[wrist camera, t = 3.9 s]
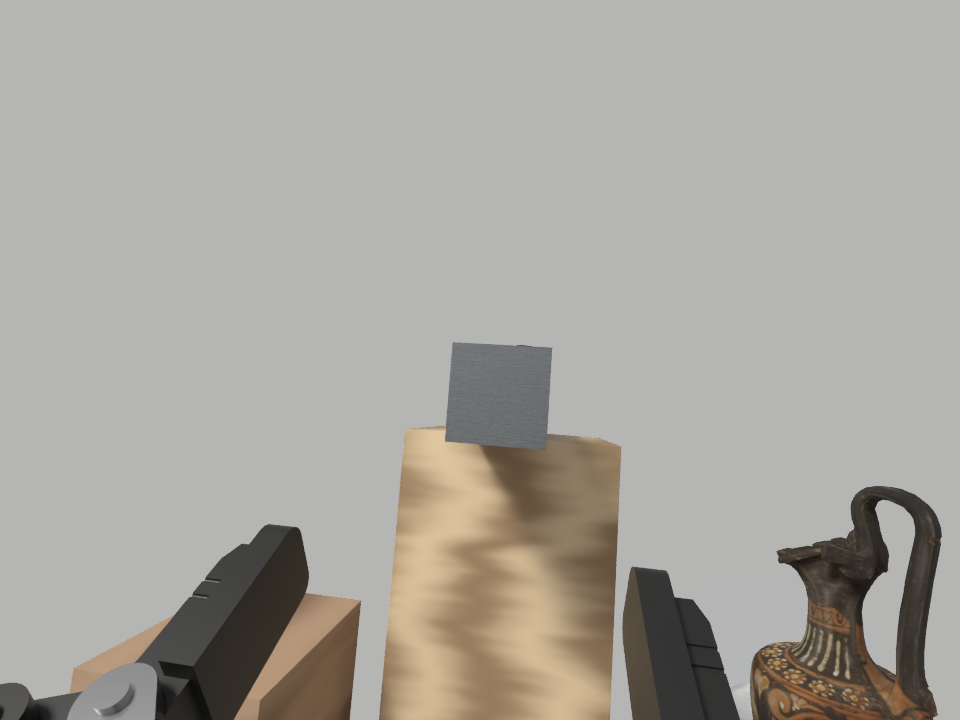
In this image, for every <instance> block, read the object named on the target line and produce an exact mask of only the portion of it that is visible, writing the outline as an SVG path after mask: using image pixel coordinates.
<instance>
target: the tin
mask: <svg viewBox="0 0 960 720" xmlns="http://www.w3.org/2000/svg"><path fill="white" fill-rule="evenodd" d="M551 357H552V348H547V347H532V346H523V345H518V346H509V345H492V344H472V343H455V342H454V343H453V346H452V358H451V372H450V383H449V397H448V408H447V422H446V433H445V442H455V443H467V444H479V445H490V446H502V447H514V448H526V449H538V450H546V442H547V425H548V408H549V390H550V374H551Z"/></svg>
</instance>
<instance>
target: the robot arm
mask: <svg viewBox="0 0 960 720" xmlns="http://www.w3.org/2000/svg"><path fill="white" fill-rule="evenodd" d="M308 580H309V571H308V566H307V561H306V556H305V551H304V546H303V541H302V536H301V532H300V530H299V529H298V528H297V527H289V526H280V525H271V524H268V525H266V526H264V527H263V528H262V529H261V530H260V531H259V533H258V534H257V535H256V537H255V538H254V539H253V540H252V542H251V543H250V544H249V545H247V544H241V545H240V546H238V547H237V548H235V549H234V550H233V551H231V552H230V553H229V554H227V555H226V556H224V557H223V558H222V559H221V560H220V561H219V562H218V563H217V564H216V566H215V567H214V568H213V569H212V570H211V572H210V573H209V574H208V575H207V576H206V579H205V581H203V582H201V584H200V585H199V586H198V587H197V588H196V590H195V591H194V592H193V595H192V597H189V598H188V600H187V601H186V602H185V603H184V604H183V605H182V607H181V608H180V609H179V611H178V612H177V613H176V614H175V615H174V616H173V618H172V619H171V620H170V621H169V622H168V624H167V625H166V626H165V627H164V628H163V630H162V631H161V632H160V633H159V634H158V636H157V637H156V638H155V639H154V641H153V642H152V643H151V644H150V645H149V647H148V648H147V649H146V650H145V651H144V653H143V654H142V655H141V656H140V657H139V658H138V659H137V661H136V662H134V663H130V664H125V665H122V666H119V667H117V668H115V669H113V670H110V671H109V672H107V673H105V674H103V675H102V676H100V677H99V678H98V679H96V680H95V681H94V682H92V683H91V684H90V685H89V686H88V687H87V688H86V689H85V690H84V691H82V692H77V693H71V694H66V695H60V696H55V697H49V698H44V699H38V700H33V698H32V696H31V694H30V693H29V691H28V689H27V688H26V687H25V686H23V685H22V684H18V683H7V684H1V685H0V720H234V718H235V717H236V715H237V713H238V711H239V710H240V708H241V706H242V704H243V703H244V701H245V699H246V697H247V696H248V694H249V692H250V690H251V689H252V687H253V685H254V683H255V682H256V680H257V678H258V676H259V675H260V673H261V671H262V669H263V668H264V666H265V664H266V662H267V661H268V659H269V657H270V656H271V654H272V652H273V650H274V649H275V647H276V645H277V643H278V642H279V640H280V638H281V636H282V635H283V633H284V631H285V629H286V628H287V626H288V624H289V622H290V621H291V619H292V617H293V615H294V614H295V612H296V610H297V608H298V607H299V605H300V603H301V601H302V599H303V598H304V595H305V592H306V589H307V586H308ZM623 645H624V653H625V661H626V669H627V677H628V685H629V692H630V701H631V709H632V717H633V720H740V718H739V715H738V712H737V709H736V706H735V702H734V699H733V696H732V693H731V690H730V686H729V683H728V680H727V677H726V674H724V667H723V664H722V661H721V657H720V654H719V653H718V651H717V645H716V641H715V638H714V635H713V632H712V629H711V625H710V622H709V621H708V620H707V618H706V617H705V616H704V614H703V613H702V612H701V610H700V609H699V608H698V606H697V605H696V603H695V602H694V601H693V600H691V599H682V598H675V597H674V594H673V590H672V586H671V583H670V579H669V575H668V573H667V571H664V570H656V569H647V568H639V567H632V568H631V571H630V575H629V582H628V588H627V594H626V601H625V606H624V612H623Z"/></svg>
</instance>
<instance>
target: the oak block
mask: <svg viewBox="0 0 960 720" xmlns="http://www.w3.org/2000/svg"><path fill="white" fill-rule="evenodd" d="M445 433H446V426H437V427H426V428H412V429H405V438H404V448H403V460H402V471H401V482H400V494H399V504H398V515H397V526H396V537H395V548H394V560H393V571H392V583H391V593H390V604H389V615H388V626H387V637H386V649H385V661H384V671H383V682H382V693H381V705H380V716H379V720H610V700H611V699H610V698H611V676H612V652H613V627H614V605H615V580H616V555H617V533H618V510H619V509H618V508H619V486H620V462H621V446H618V445H616V444H613V443H610V442H608V441H605V440H603V439H600V438H590V437H578V436H566V435H554V434H547V442H546V450H538V449H526V448H514V447H502V446H490V445H479V444H467V443H455V442H445Z"/></svg>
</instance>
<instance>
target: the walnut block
mask: <svg viewBox="0 0 960 720" xmlns="http://www.w3.org/2000/svg"><path fill="white" fill-rule="evenodd" d="M360 605H361V601H359V600H352V599H345V598H337V597H329V596H322V595H314V594H307V593H305V595H304V598H303V599H302V601H301V603H300V605H299V607H298V608H297V610H296V612H295V614H294V615H293V617H292V619H291V621H290V622H289V624H288V626H287V628H286V629H285V631H284V633H283V635H282V636H281V638H280V640H279V642H278V643H277V645H276V647H275V649H274V650H273V652H272V654H271V656H270V657H269V659H268V661H267V662H266V664H265V666H264V668H263V669H262V671H261V673H260V675H259V676H258V678H257V680H256V682H255V683H254V685H253V687H252V689H251V690H250V692H249V694H248V696H247V697H246V699H245V701H244V703H243V704H242V706H241V708H240V710H239V711H238V713H237V715H236V717H235V718H234V720H350V709H351V699H352V688H353V678H354V668H355V657H356V647H357V637H358V626H359V616H360V615H359V614H360ZM172 618H173V616H172V617H170V618H168V619H166V620H164V621H162V622H160V623H159V624H157V625H155V626H153V627H151V628H149V629H147V630H145V631H143V632H142V633H140V634H138V635H136V636H134V637H132V638H130V639H128V640H126V641H125V642H123V643H121V644H119V645H117V646H115V647H114V648H111V649H109V650H108V651H106V652H104V653H102V654H100V655H98V656H96V657H94V658H93V659H91V660H89V661H87V662H85V663H83V664H81V665H79V666H77V667H76V668H74V670H73V677H72V682H71V689H70V694H71V693H77V692H82V691H84V690H85V689H86V688H87V687H88V686H89V685H90V684H91V683H92V682H94V681H95V680H96V679H98V678H99V677H100V676H102V675H103V674H105V673H107V672H109V671H110V670H113V669H115V668H117V667H119V666H122V665H125V664H130V663H134V662H136V661H137V659H138V658H139V657H140V656H141V655H142V654H143V653H144V651H145V650H146V649H147V648H148V647H149V645H150V644H151V643H152V642H153V641H154V639H155V638H156V637H157V636H158V634H159V633H160V632H161V631H162V630H163V628H164V627H165V626H166V625H167V624H168V622H169V621H170V620H171V619H172Z"/></svg>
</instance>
